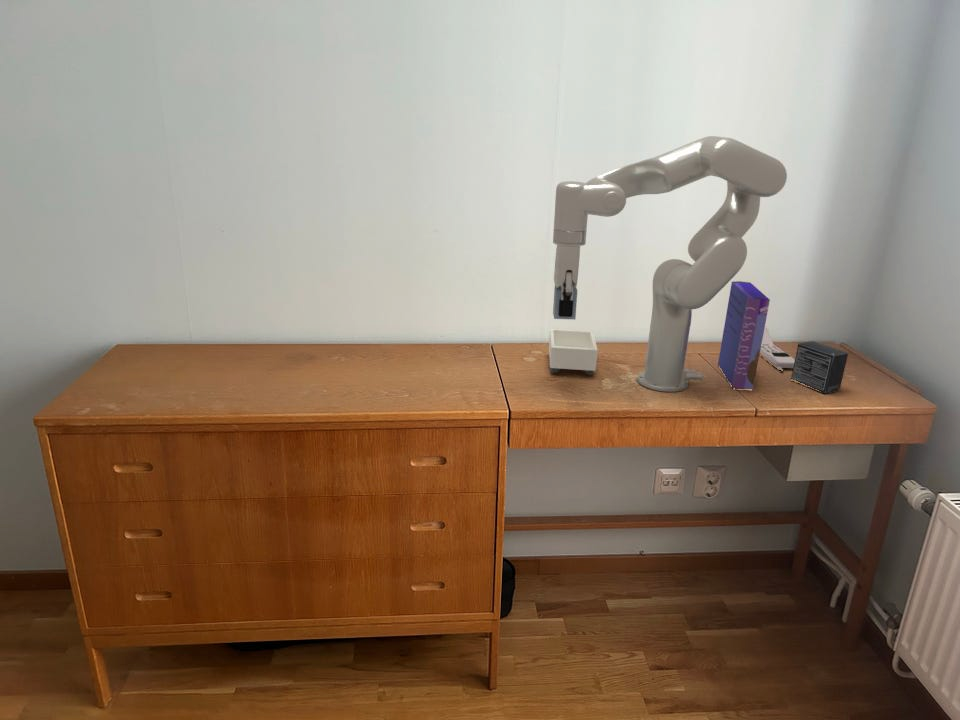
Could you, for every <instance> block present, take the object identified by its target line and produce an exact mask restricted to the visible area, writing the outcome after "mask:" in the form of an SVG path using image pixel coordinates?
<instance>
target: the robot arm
mask: <svg viewBox="0 0 960 720" xmlns="http://www.w3.org/2000/svg"><path fill="white" fill-rule="evenodd" d="M787 173H788V172H787V169H786V167H785V165H784V164H783V163H782V162H781V161H780V160H779V159H777V158H775V157H773V156H770V155H769V154H766V153H764V152H762V151H760V150H758V149H756V148H754V147H752V146H749V145H747V144H746V143H743V142H741V141H739V140H737V139H734V138H731V137H725V136H713V135H712V136H711V135H710V136H705V137H701V138H699V139H696V140H695V141H691V142H689V143H687V144H684V145H682V146H679V147H676V148H675V149H671V150H670V151H667V152H664V153H662V154H659V155H656V156H654V157H651V158H647V159H644V160H641V161H638V162H635V163H630V164H627V165H624V166H621V167H617V168H615V169H613V170H610V171H607V172H605V173H602V174H600V175H598V176H595V177H593V178H590V179H589V180H588V181H586V182H581V181H572V180H569V181H561V182H559V183H558V184H557V185H556V188H555V198H554V199H555V201H554V203H555V204H554V216H553V217H554V219H553V220H554V221H553V237H552V243H553V244H554V245H556V249H555V250H556V251H555V258H554V259H555V260H554V273H553V274H554V275H553V282H554V287H555V286H556V287H557V288H558V287H559V286H561V299H559V316H560V317H572V312H573V288H575V287H576V288H577V285H578V279H579V278H578V277H579V270H580V269H579V267H580V256H581V255H580V254H581V247H582V246H585V245H586V244H587V243H586V242H587V240H586V239H587V230H588V229H587V228H588V216H589V215H590V216H599V217H607V218H608V217H613V216H616V215H618V214H620V213H621V212H622V211H623V210H624V208H625V207H626V204H627V199H629V198H632V197H636V196H642V195H643V196H644V195H660V194H665V193H671V192H672V191H674V190H677V189H680V188H682V187H685V186H687V185H689V184H692V183H695V182H696V181H700V180H702V179H704V178H707V177H710V176H713V177H716V178H720V179H722V180H725V182H726V184H727V185H726V186H727V188H726V189H727V191H726V196H725V200H724V202H723V203H722V205H721V206H720V207H719V208H718V210H717V211H716V212H715V213H714V214H713V215H712V216H711V217H710V218H709V220H707V221H706V223H705V224H704V225H703V226H702V227H701V228H700V229H699V230H698V231H697V232H696V233H695V234H694V235H693V237H692V238H691V239H690V241H689V243H688V247H687V252H688V255H689V257H690V258H691V259H692V261H694V263H692V264H691V263H689V262H687V261H684V260H682V259H679V258H678V259H677V258H671V259H668V260H665V261H663V262H661V263H660V264H659V265H658V267H657V268H656V269H655V272H654V275H653V277H652V278H653V279H652V310H651V316H650V317H651V318H650V319H651V320H650V325H649V333H648V340H647V341H648V342H647V349H646V356H645V364H644V370H643V371H640V372H639V373H638V374H637V376H636V378H637V382H638V383H639V385H641V386H643V387H645V388H648V389H651V390H653V391H659V392H668V393H670V392H681V391H684V390H686V389H687V388H688V386H689V381H690V380H695V381H702V380H703V372H696V370H695V369H686V367H685V364H686V357H687V352H688V351H687V350H688V343H689V337H690V330H691V323H692V318H693V317H692V315H693V314H692V313H693V310H697V309H700V308H702V307H704V306H705V305H707V304H708V303H710V301H711V300H713V298H715V296H716V295H717V294H718V293H719V292H720V291H721V290H722V289H723V288H724V287H726V285H727V284H729V282H731V280H732V279H733V278H734V277H735V276H736V275H737V274H738V273H739V272H740V271H741V269H742V268H743V266H744V265H745V262H746V259H747V255H748V247H747V244H746V242H745V240H744V239H743V237H744V236H745V235H746V234H747V232H748V231H749V230H750V229H751V228H752V226H753V225H754V224H755V222H756V220H757V218H758V215H759V212H760V207H761V198H769V197H773V196H775V195H777V194H778V193H779V192H781V191H782V190H783V188H784V187H785V185H786V183H787V178H788V174H787ZM563 285H566V287H563ZM564 290H565V291H564Z"/></svg>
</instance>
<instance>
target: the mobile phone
mask: <svg viewBox="0 0 960 720" xmlns="http://www.w3.org/2000/svg"><path fill="white" fill-rule="evenodd" d="M760 353H761V354H762V355H763V356H764V357H765V358H766V359H768V360H769V361H770V362H771V363H772V364H773V365H774V366H776V367H778V368H779V369H781V370H784V369H782V368H793V367H794V362H795V358H793V357H792V355H790V354H789V353H787V352H785V351H783V350H782V349H781V348H779V347H777V346H776V345H775V344H774V343H773V338H772V336H771V334H770V330H769V328H768V327H767V328H764V334H763V339H762V344H761V349H760Z"/></svg>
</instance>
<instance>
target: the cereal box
mask: <svg viewBox="0 0 960 720" xmlns="http://www.w3.org/2000/svg"><path fill="white" fill-rule="evenodd" d="M770 302H771V299H770V298H769V297H767V295H765V294H764V293H763V292H762V291H761V290H760V289H758V288H757V287H756V286H755V285H754V284H753V283H752V282H750V281H742V280H737V281H731V284H730V291H729V297H728V301H727V308H726V314H725V320H724V326H723V332H722V333H723V334H722V338H721V343H720V344H721V345H720V350H719V355H718V363H717V364H718V365H719V366H720V368H721V369H722V371H723V373H724V374H725V376H726V378H727V379H728V381H729V382H730V383H731V385H732V387H733V388H735V389H753V390H754V386H755V382H756V381H755V380H756V374H757V370H758V364H759V360H760V349H761V344H762V339H763V334H764V328H765V327H766V323H767V317H768V312H769V306H770ZM718 365H717V366H718ZM723 373H722V374H723ZM726 378H725V379H726ZM728 381H727V382H728ZM732 387H731V388H732Z"/></svg>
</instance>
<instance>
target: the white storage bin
mask: <svg viewBox="0 0 960 720" xmlns="http://www.w3.org/2000/svg"><path fill="white" fill-rule="evenodd" d="M598 351H599V349H598V346H597V342H596V338H595V335H594V331H588V330H575V329H574V330H572V329H571V330H570V329H555V328H550V329H549V342H548V356H549V368H550V370H551V371H550V372H551V373H553V374H558V373H559V372H560V371H561V369H562V370H563V369H564V370H576V371H578V370H580V371H583V372H584V374H585V375H586V376H592V375H593V374H594V372H596V370H597V362H598V360H597V359H598Z"/></svg>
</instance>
